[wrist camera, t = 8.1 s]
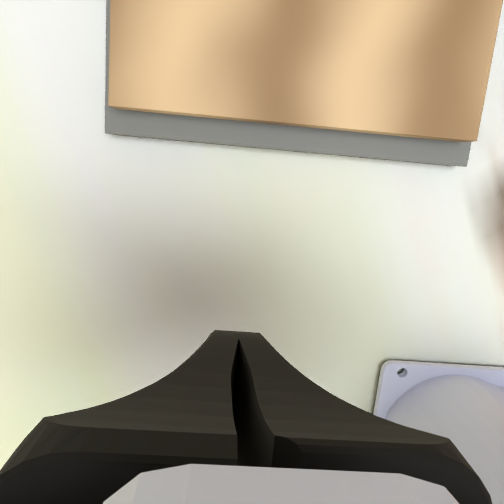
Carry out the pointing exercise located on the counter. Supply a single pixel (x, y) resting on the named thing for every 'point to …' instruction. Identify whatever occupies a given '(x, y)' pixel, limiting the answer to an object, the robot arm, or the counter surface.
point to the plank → (308, 62)
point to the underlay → (278, 134)
